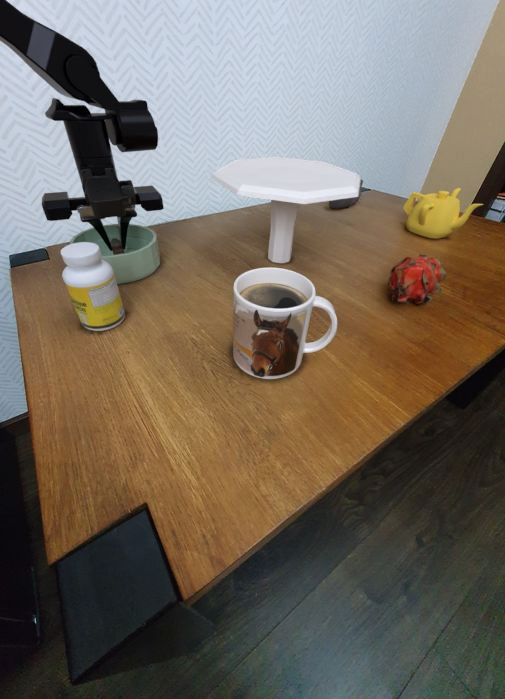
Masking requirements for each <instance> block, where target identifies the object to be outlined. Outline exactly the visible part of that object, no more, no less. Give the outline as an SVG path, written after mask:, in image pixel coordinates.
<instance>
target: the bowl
mask: <svg viewBox="0 0 505 699" xmlns="http://www.w3.org/2000/svg"><path fill="white" fill-rule="evenodd" d="M103 226H104V228H105V230H106V233H107V235H108V238H109V240H110V241H111V239H113V238H117V239H118V240H120V235H119V227H118V223H111V224H110V223H109V224H103ZM79 242H91V243H95V244H97V245H98V246H99V248H100V251H101V254H102V258H101V259H102V260H104V261H106V262H107V263H109V264H110V265H111V267H112V269H113V272H114V275H115V279H116V282H117V285H121V284H128V283H133V282H137V281H139V280H142V279H145V278H147V277H148V276H150V275H152V274H153V273H154V272H155V271H157V270H158V268H159V266H160V265H161V260H162V259H161V254H160V248H159V242H158V234H156V232H155V231H154V230H152V229H150V227H147V226H143V225H141V224H133V223H129V226H128V230H127V238H126V247H125V249H123V250H124V252H125V254H118V255H114V254H113V251H110V250H109V248H108V247H107V245H106V244H105V242H104V241H103V239H102V238H101V236H100V235H99V233H98V232H97V231H96V230H95V228H94V227H90V228H87V229H85V230H82V231H80V232H78V233H77V234H75V235H74V236H73V237H72V238H71V239H70V241H69V245H70V244H73V243H79ZM120 242H121V241H120ZM121 245H122V244H121Z"/></svg>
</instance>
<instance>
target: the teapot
mask: <svg viewBox="0 0 505 699" xmlns="http://www.w3.org/2000/svg"><path fill="white" fill-rule="evenodd" d="M461 190H462V188H461V187H457V188H455V189H453V191H452V192H451V194H450V191H448V190H438V192H437V193H436V192H433V193H432V192H431V193H427V194H423V193H420V192H417V191H413V192H411V193H410V195H409V196H408V198H407V200H406V202H405V203H404V205H403V206H402V209H403V210H404V211H405V213H406V215H407V218H406V221H405V225H406V229H407V231H409V232H411V233H413V234H416V235H419V236H422V237H425V238H427V239H428V238H429V239H441V238H445V237H447V236H449V235H450V234H451V233H453V231H455V230H456V229H459V228H461V227H462V226H463V225H464V224H465V223H466V222H467V221H468V219H469V217H470V216H471V214H472V213H473V211H474V210H475V209H477V208H479V207H481V206H483V205H484V203H472V204H470V205H469V206H468V207H467V208H466V209H465V211H464V212H463V213H462V215H461V216H460V212H461V210H460V208H461V201H460V199H459V198H457V196H458V194H459V193H460V192H461ZM416 200H419V201H418V202H417V203H416V204H415V202H416ZM414 204H415V205H414Z"/></svg>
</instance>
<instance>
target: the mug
mask: <svg viewBox="0 0 505 699" xmlns="http://www.w3.org/2000/svg"><path fill="white" fill-rule="evenodd" d="M316 292H317V291H316V288H315V285H314V283H313V282H312V281H311V280H310V279H309V278H308V277H306V276H304V275H303V274H301V273H299V272H297V271H293V270H290V269H287V268H282V267H271V266H269V267H257V268H254V269H250V270H247V271H245V272H243V273H241V274H240V275H238V277H237V278H236V279H235V280H234V282H233V287H232V355H233V359H234V362H235V364H236V365H237V366H238V368H240V369H241V370H242V371H243V372H244V373H246V374H248V375H250V376H252V377H254V378H258V379H263V380H276V379H283V378H285V377H288V376H290V375H291V374H293V373H294V372H296V371H297V370H298V369H299V367H300V366H301V364H302V361H303V357H304V354H311V353H316V352H318V351H321V350H323V349H324V348H326V347H327V346H328V345H329V344H331V342H332V341H333V339H334V337H335V336H336V333H337V330H338V318H337V312H336V309H335V307H334V306H333V304H332V303H331V302H330V301H329V300H328V299H327V298H325V297H322V296H319V295H317V294H316ZM314 307H315V308H320V309H321V310H324V311H325V312H326V313H327V314H328V316H329V318H330V324H329V327H328V330H327V331H326V333H324V335H323V336H322V337H320V338H319V339H317V340H315V341H313V342H307V338H308V333H309V328H310V322H311V320H312V319H311V318H312V314H313V309H314Z"/></svg>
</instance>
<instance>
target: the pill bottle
mask: <svg viewBox="0 0 505 699" xmlns="http://www.w3.org/2000/svg"><path fill="white" fill-rule="evenodd" d="M60 255H61V258H62V260H63V262H64V265H67V266H65V268H64V269H63V271H62V280H63V282H64V285H65V287H66V289H67V292H68V294H69V297H70V299H71V303H72V304H73V306H74V309H75V311H76V313H77V317H78V318H79V321H80V323H81V326H83V327H84V328H85V329H87V330H90V331H95V332H102V331H107V330H112V329H114V328H116V327H118V326H119V325H120V324H122V322H123V321H124V319H125V317H126V311H125V307H124V303H123V301H122V296H121V293H120V291H119V290H120V289H119V287H118V284H117V282H116V279H115V275H114V272H113V269H112V267H111V265H110V264H109V263H107V262H106V261H104V260H102V259H101V258H102V254H101V251H100V248H99V246H98V245H97V244H95V243H91V242H79V243H73V244H70V243H69V244H67V245H65V246H64V247H62V249H60Z"/></svg>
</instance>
